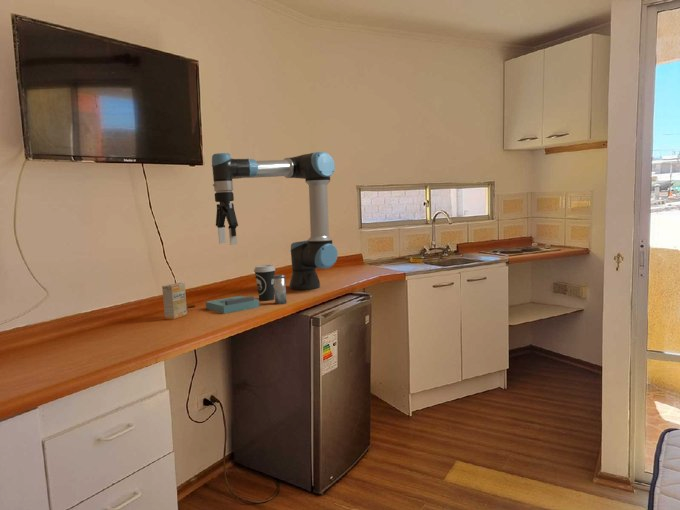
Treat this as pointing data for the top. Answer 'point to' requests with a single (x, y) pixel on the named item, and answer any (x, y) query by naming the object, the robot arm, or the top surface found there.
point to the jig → (232, 304)
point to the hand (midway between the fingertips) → (227, 243)
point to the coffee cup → (265, 281)
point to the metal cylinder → (280, 289)
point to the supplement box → (174, 300)
